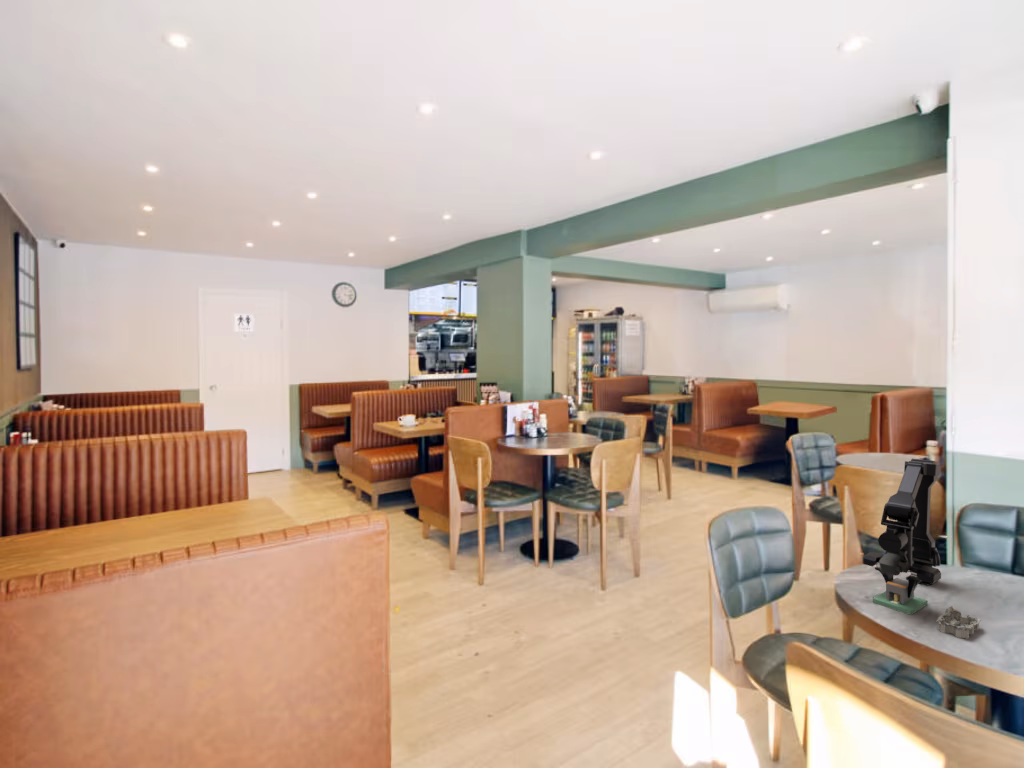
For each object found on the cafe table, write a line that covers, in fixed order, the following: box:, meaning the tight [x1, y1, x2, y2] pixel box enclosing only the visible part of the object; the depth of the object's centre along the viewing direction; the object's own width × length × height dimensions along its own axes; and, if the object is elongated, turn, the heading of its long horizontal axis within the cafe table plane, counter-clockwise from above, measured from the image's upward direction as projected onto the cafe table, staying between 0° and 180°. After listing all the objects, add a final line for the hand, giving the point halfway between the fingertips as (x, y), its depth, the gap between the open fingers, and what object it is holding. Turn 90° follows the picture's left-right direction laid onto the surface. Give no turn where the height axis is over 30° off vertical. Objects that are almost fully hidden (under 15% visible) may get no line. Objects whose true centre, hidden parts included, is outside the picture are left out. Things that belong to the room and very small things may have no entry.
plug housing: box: [885, 577, 915, 604], centre depth 166 cm, size 7×5×5 cm, turn 123°
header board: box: [872, 590, 928, 615], centre depth 166 cm, size 11×10×3 cm
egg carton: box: [935, 605, 981, 639], centre depth 150 cm, size 11×8×4 cm
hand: (899, 594), depth 166 cm, fingers closed on plug housing, 4 cm apart
